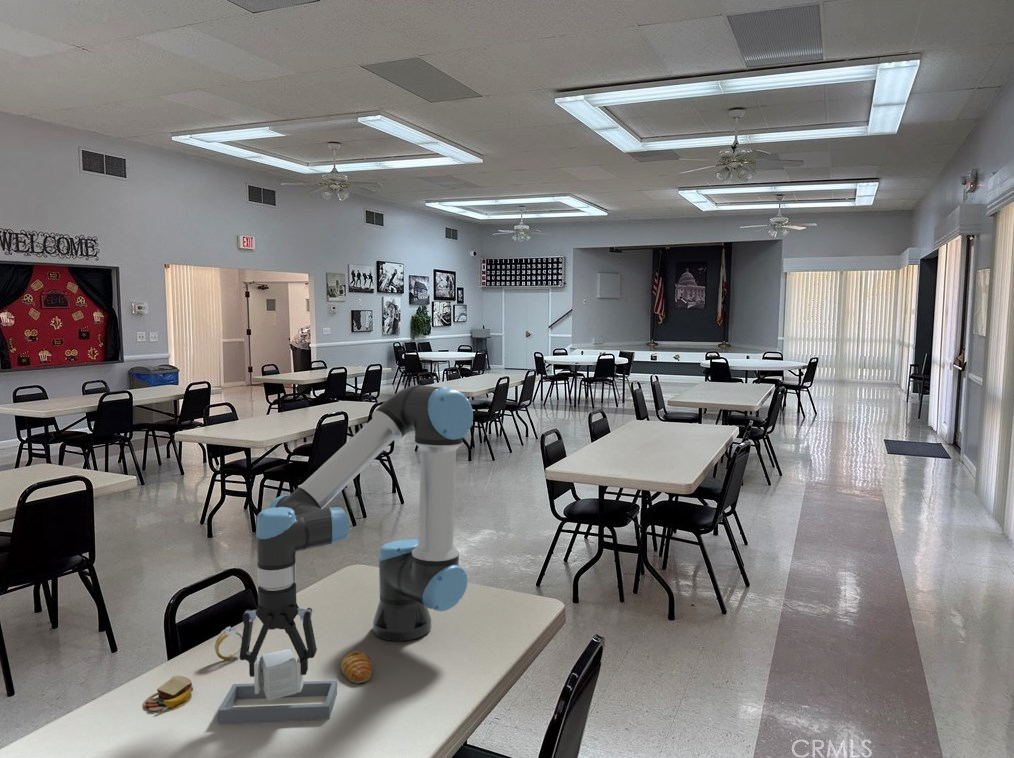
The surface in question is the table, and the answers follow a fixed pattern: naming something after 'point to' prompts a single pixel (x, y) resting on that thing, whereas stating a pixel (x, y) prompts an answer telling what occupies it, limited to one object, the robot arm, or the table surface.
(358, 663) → the pastry
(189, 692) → the toy sandwich meal
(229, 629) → the ring
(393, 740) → the table surface
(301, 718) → the tray
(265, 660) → the product box
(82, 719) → the table surface
